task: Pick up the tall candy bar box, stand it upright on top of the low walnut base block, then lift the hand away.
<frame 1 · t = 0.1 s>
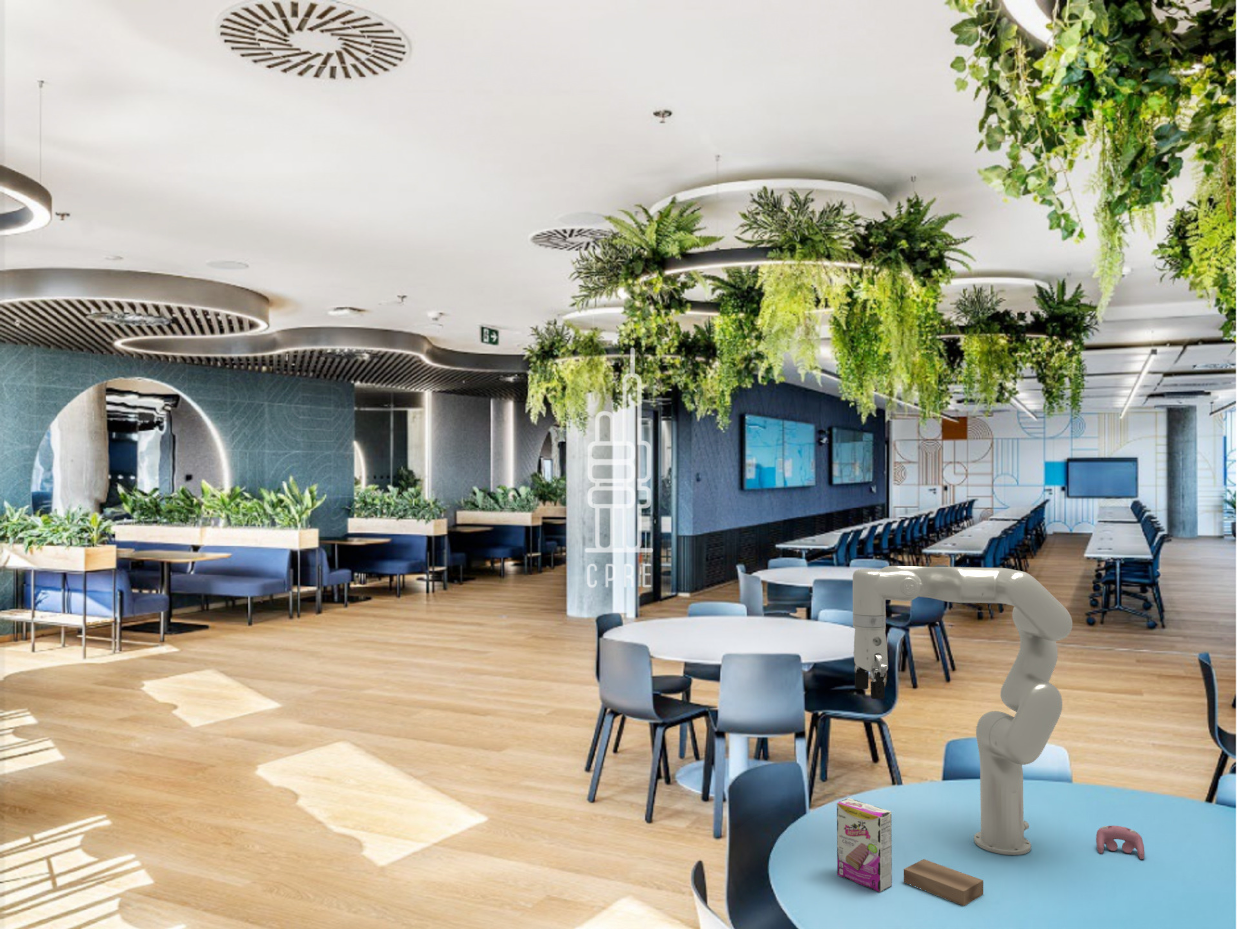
hand: (869, 693, 212), 37 cm above the table, tool pointing down, fingers open, 9 cm apart
video game controller: (1119, 854, 210), on the table
candy bar box: (864, 882, 196), on the table
walnut base: (943, 888, 192), on the table
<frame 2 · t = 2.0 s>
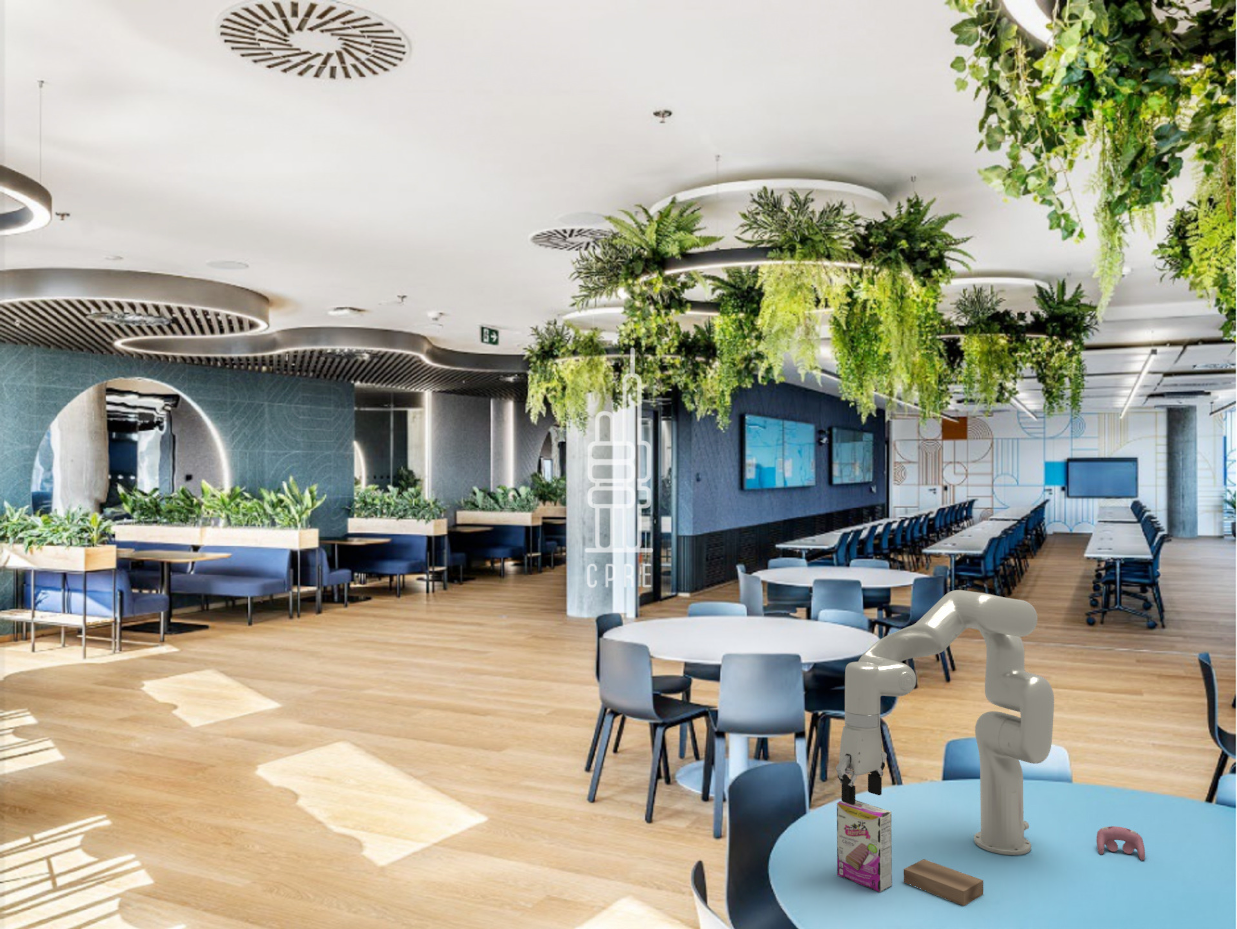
hand: (861, 798, 196), 18 cm above the table, tool pointing down, fingers open, 9 cm apart
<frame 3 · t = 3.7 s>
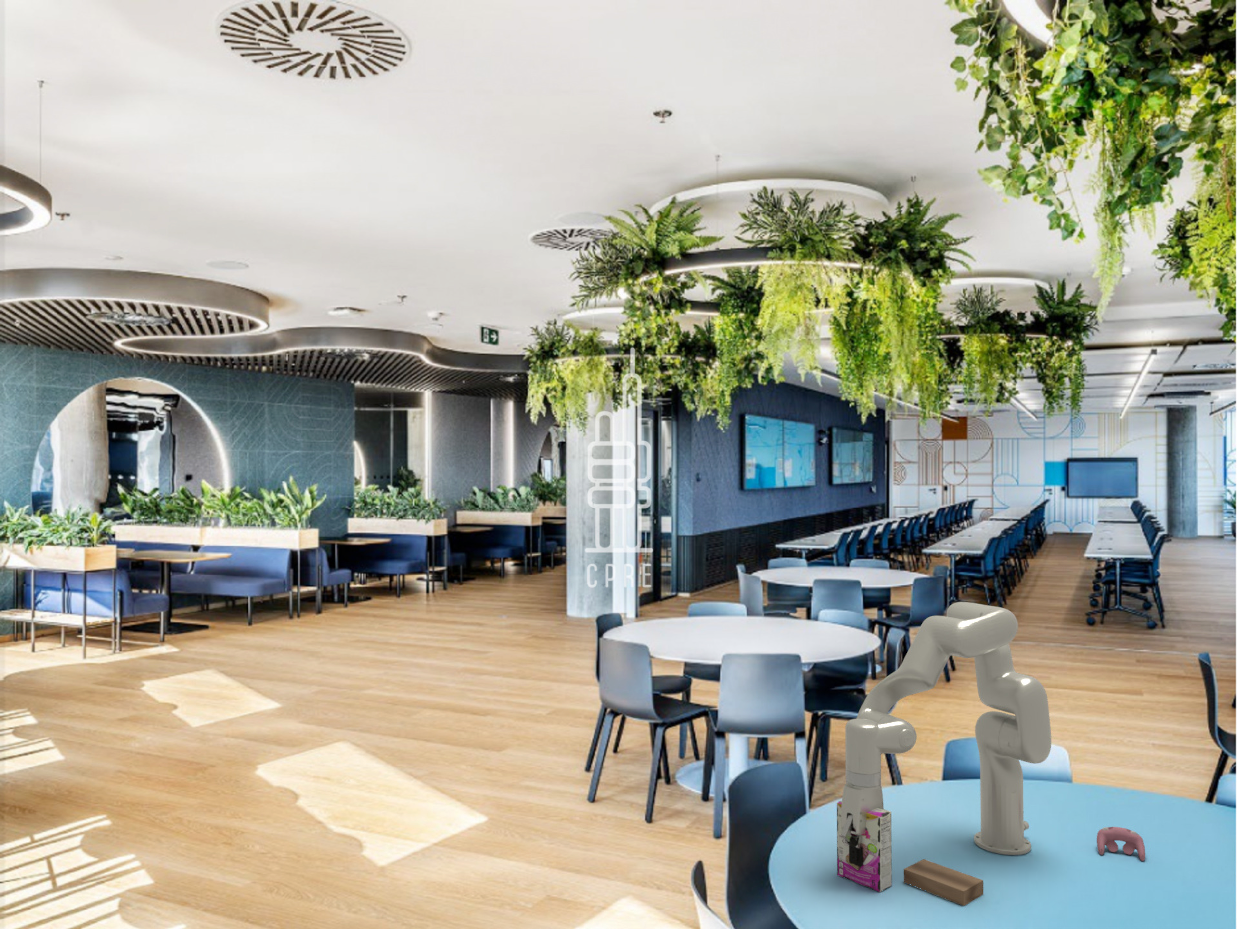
hand: (863, 859, 196), 5 cm above the table, tool pointing down, fingers closed on candy bar box, 5 cm apart
candy bar box: (864, 882, 196), on the table, touching gripper
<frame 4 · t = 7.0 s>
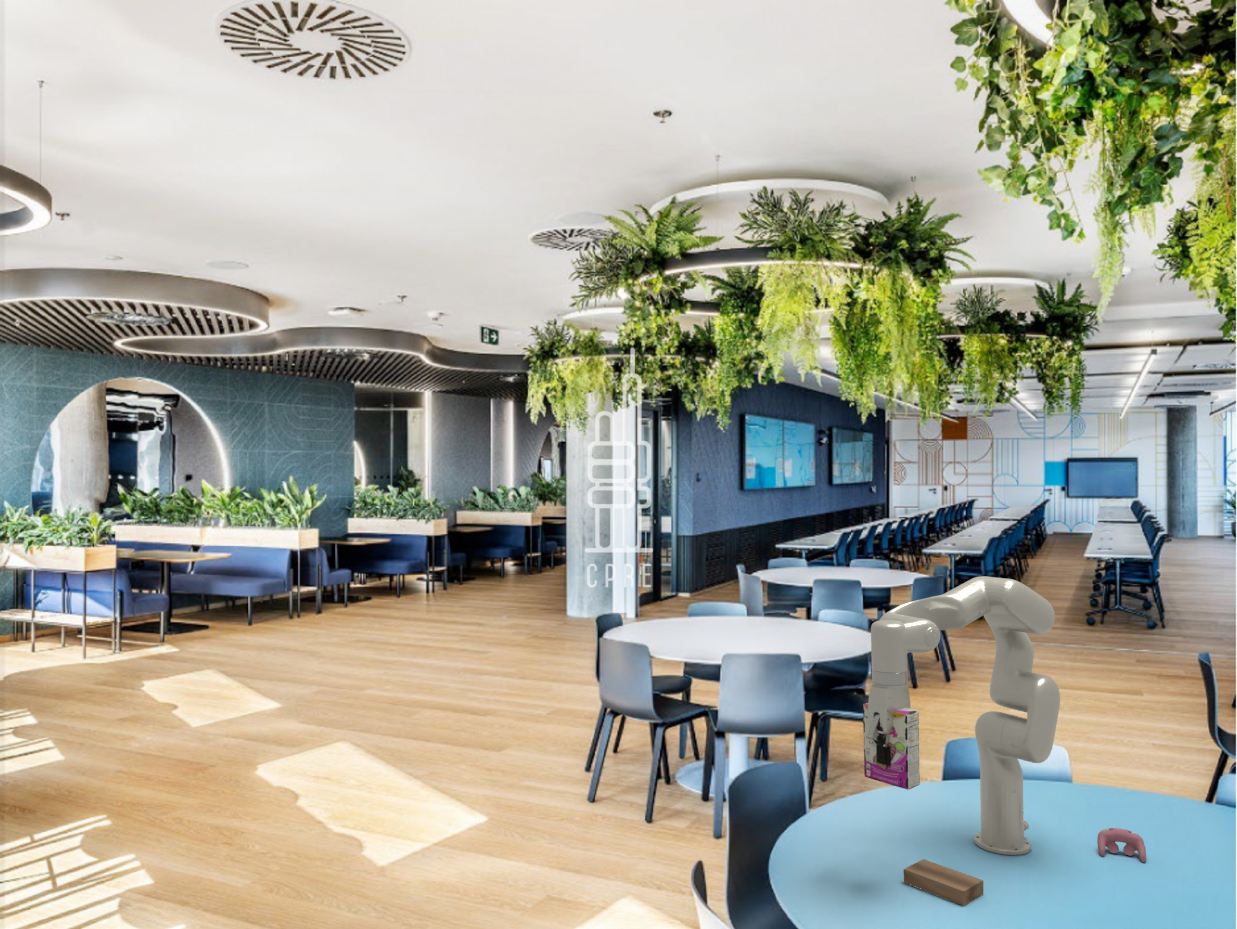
hand: (891, 760, 195), 27 cm above the table, tool pointing down, fingers closed on candy bar box, 5 cm apart
candy bar box: (891, 782, 195), point 22 cm above the table, touching gripper
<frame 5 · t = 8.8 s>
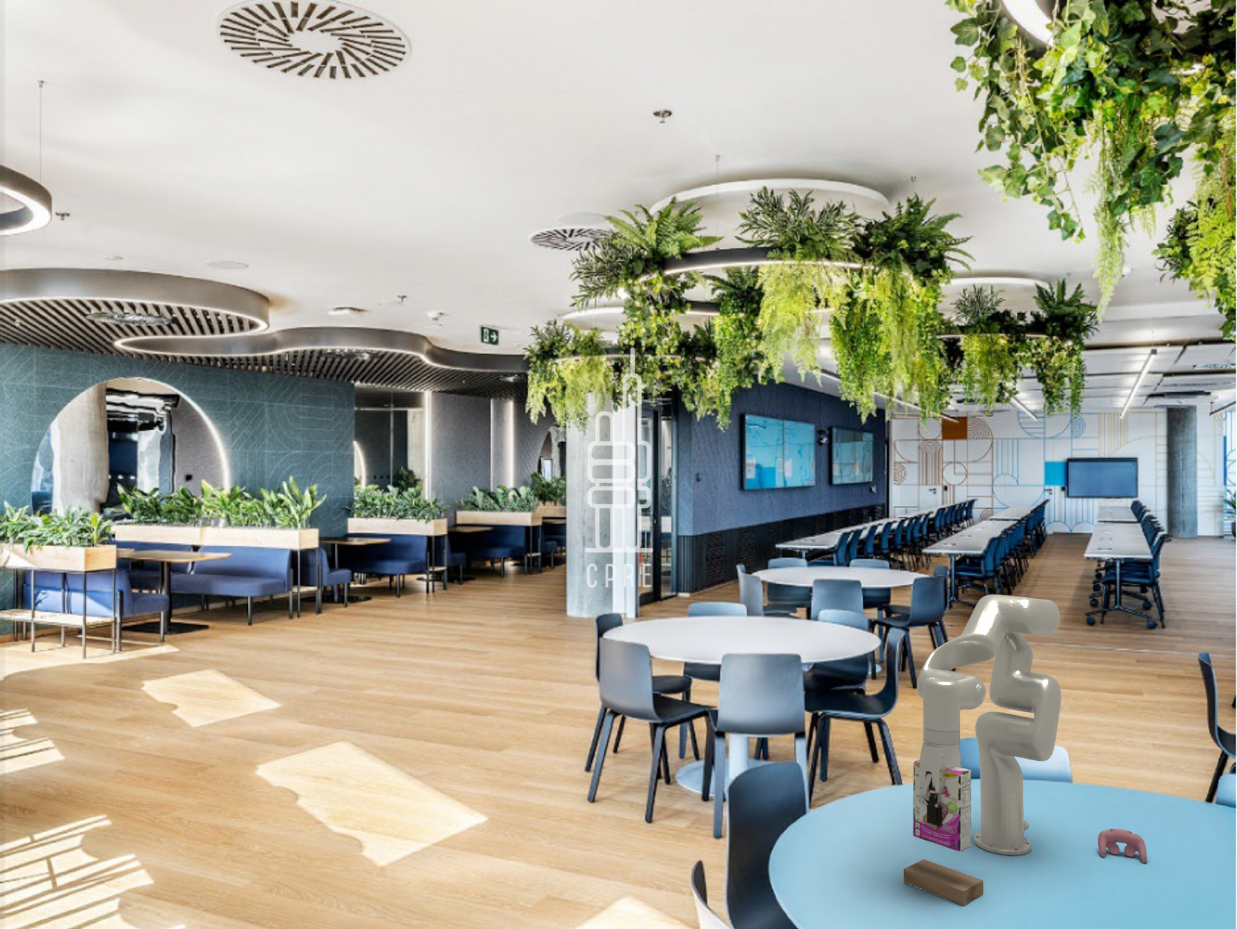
hand: (941, 820, 192), 15 cm above the table, tool pointing down, fingers closed on candy bar box, 5 cm apart
candy bar box: (941, 843, 192), point 10 cm above the table, touching gripper
when the fingers open (8 cm above the table, at t = 10.2 s): candy bar box stays where it is, resting on walnut base.
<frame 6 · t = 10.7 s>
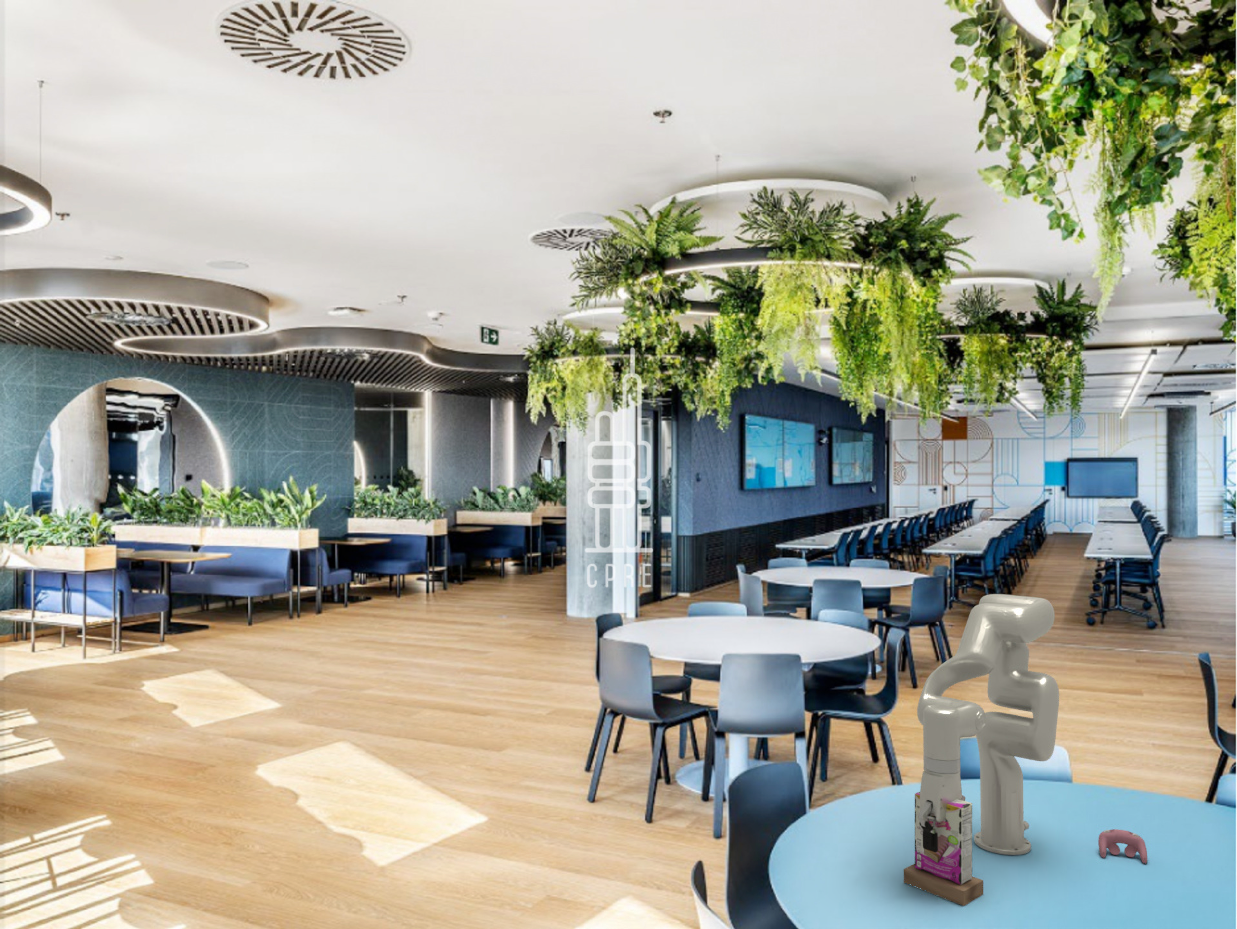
hand: (942, 844, 192), 10 cm above the table, tool pointing down, fingers open, 9 cm apart
candy bar box: (943, 875, 192), point 3 cm above the table, touching walnut base
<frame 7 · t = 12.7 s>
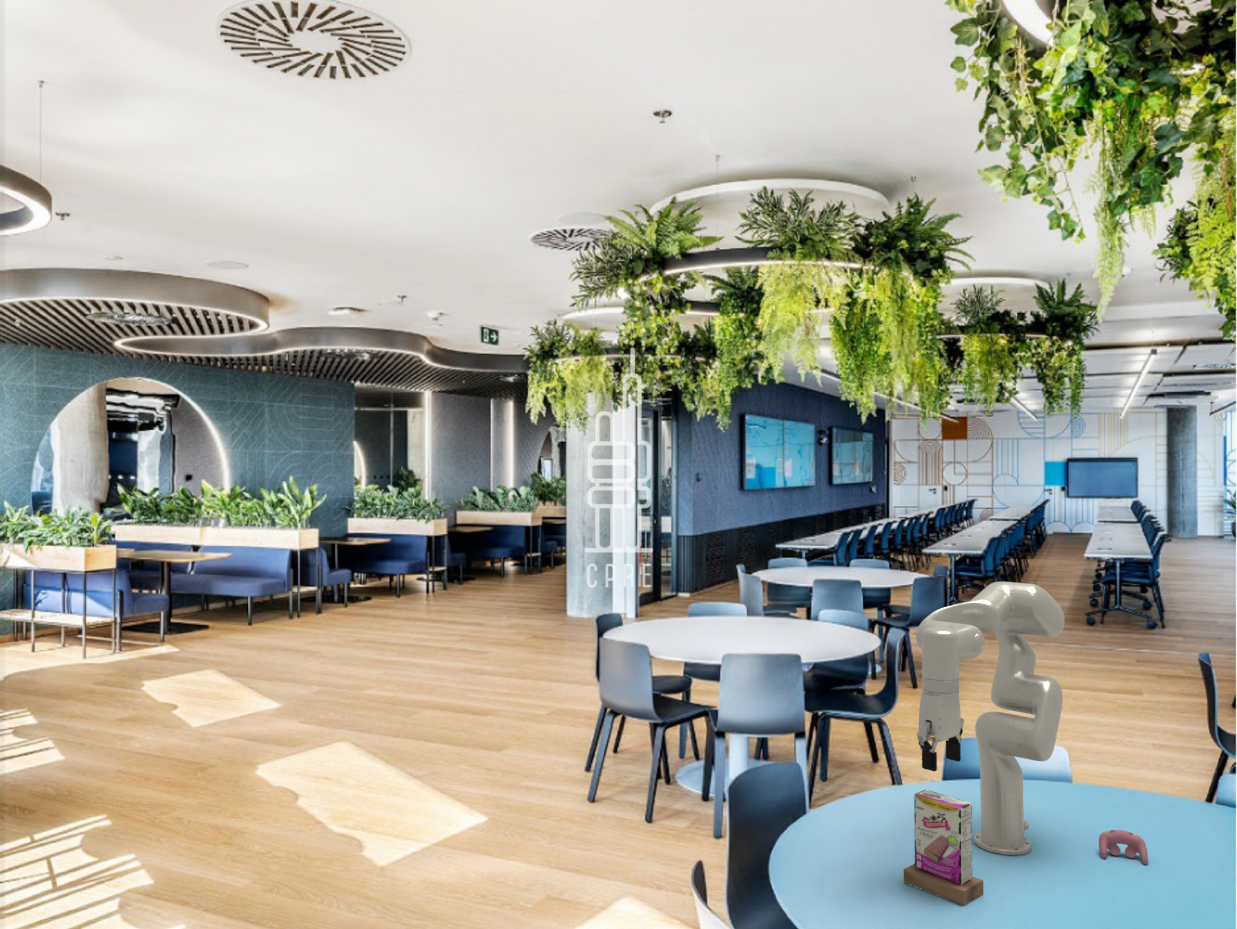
hand: (941, 764, 193), 26 cm above the table, tool pointing down, fingers open, 9 cm apart
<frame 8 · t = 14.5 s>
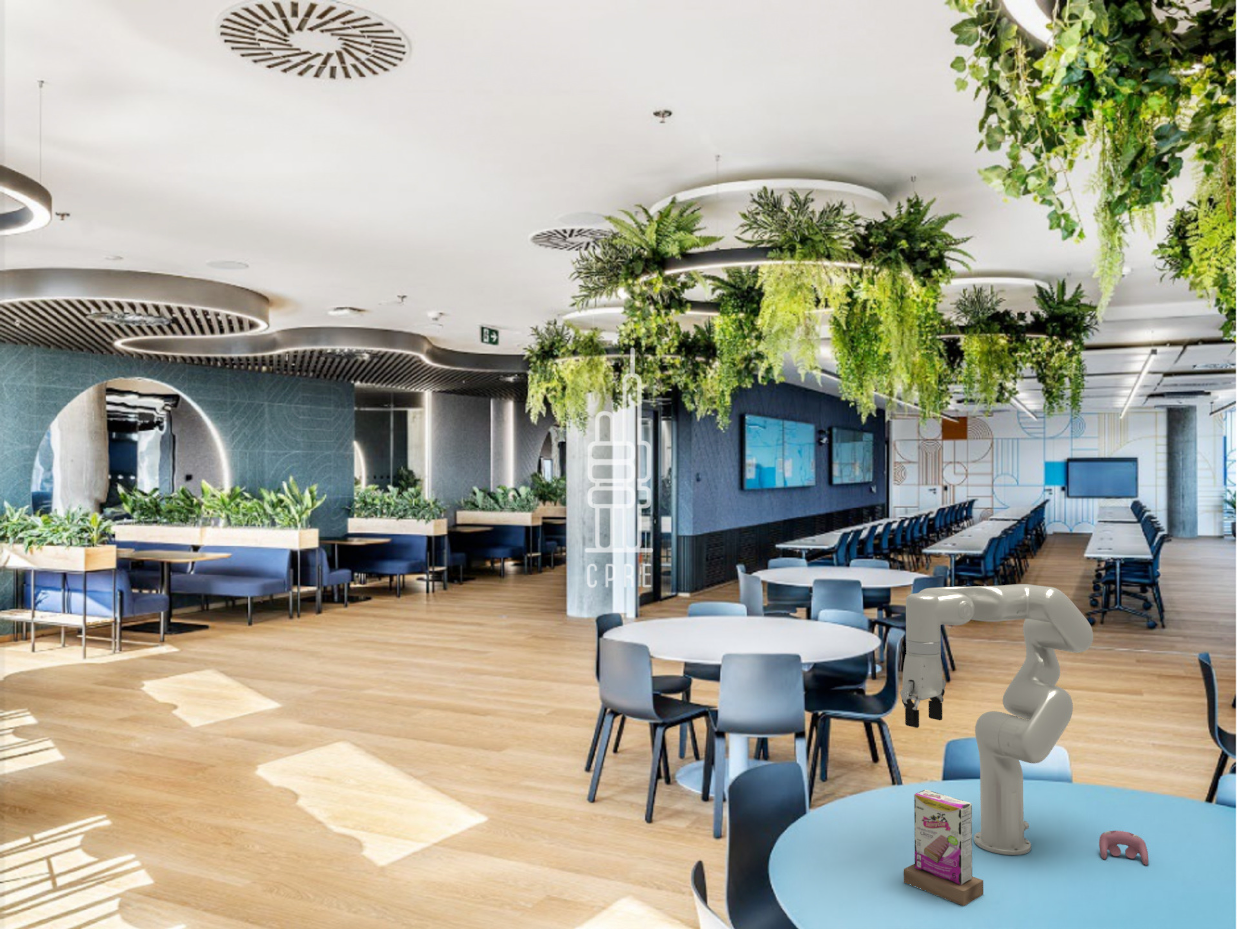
hand: (924, 722, 205), 32 cm above the table, tool pointing down, fingers open, 9 cm apart
at the end: candy bar box 0.1 cm off-centre on the walnut base, point 2.8 cm above the walnut base's base; candy bar box tilted 0°; the gripper is holding nothing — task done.
